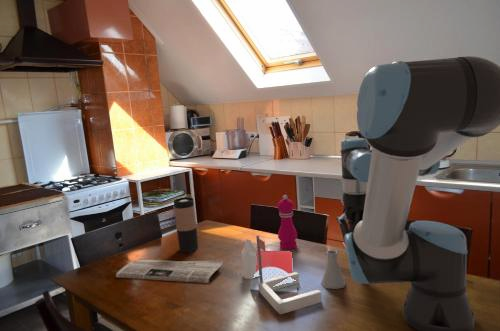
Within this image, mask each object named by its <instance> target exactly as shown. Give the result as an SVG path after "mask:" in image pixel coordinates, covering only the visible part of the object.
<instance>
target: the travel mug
mask: <svg viewBox="0 0 500 331" xmlns="http://www.w3.org/2000/svg"><path fill="white" fill-rule="evenodd" d="M173 206H174V216H175V226H176V232H177V240H178V247H179V251H180V252H182V253H192V252H195V251H197V250H198V249H199V246H198V245H199V242H198V230H197V229H198V228H197V227H198V226H197V221H196V220H197V219H196V211H195V202H194V198H193V197H190V196H188V197H179V198H176V199H174V200H173Z"/></svg>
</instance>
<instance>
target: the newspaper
mask: <svg viewBox="0 0 500 331" xmlns="http://www.w3.org/2000/svg"><path fill="white" fill-rule="evenodd" d="M224 262H225V261H224V259H215V260H213V259H212V260H209V259H208V260H183V261H179V260H177V261H176V260H164V259H149V258H139V259H137V260H133V261H130V262H129V263H127V264H126V265H124V266H123V267H122V268H120V269H119V270H118V271H117V272H116V274H115V278H121V279H137V280H138V279H139V280H152V281H170V282H183V283H185V282H187V283H200V284H201V283H203V284H209V283H210V279H211V277H212V275H213V274H215V272H216V271H220V269H221V266H222V265H223V263H224Z"/></svg>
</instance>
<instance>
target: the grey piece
mask: <svg viewBox="0 0 500 331" xmlns="http://www.w3.org/2000/svg"><path fill="white" fill-rule="evenodd" d="M257 251H258V250H257V246H255V244H254V243H253V242H252V240H251V239H246V240H245V241H244V246H243V249H242V251H241V253H240V259H241V268H242V275H243V278H244V279H245V280H254V279H253V277H254V274H255V272H256V265H257V256H256V252H257Z"/></svg>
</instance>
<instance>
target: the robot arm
mask: <svg viewBox="0 0 500 331" xmlns="http://www.w3.org/2000/svg"><path fill="white" fill-rule="evenodd" d="M356 107H357V110H356V122H357V128H358V131H359V133H360V134H361V136H362V137H353V138H344V139H343V140H342V141H341V142H340V155H341V158H340V159H341V180H342V181H341V182H342V191H343V192H342V204H343V210H342V214H341V215H340V216H336V219H335V220H336V221H337V223H338V224H339V227H340V228H339V229H340V232H341V234H342V240H343V242H344V245H345V252H346V257H347V261H348V263H347V264H348V268H349V272H350V276H351V278H352V280H353V281H354V282H355V283H356V284H367V285H375V284H376V285H377V284H392V283H393V284H394V283H410V286H409V288H408V291H407V293H406V294H407V295H406V297H405V300H404V302H403V306H402V310H403V311H402V315H403V319H404V320H405V322H406V323H407V324H408V325H409V326H410V327H411V328H413V329H415V330H416V331H474V330H475V322H476V321H475V320H476V318H475V314H474V312H473V310H472V308H471V305H470V301H469V298H468V295H467V266H468V265H467V264H468V263H467V262H468V261H467V260H468V252H469V251H468V246H467V237H466V235H465V234H464V232H463V231H462V230H461V229H460V228H458V227H455V226H453V225H450V224H446V223H443V222H438V221H433V220H431V221H430V220H415V221H412V222H411V223H410V224H409V227H408V229H407V230H405V228H406V225H407V224H406V223H407V220H408V215H409V213H410V207H411V204H412V200H413V196H414V192H415V188H416V184H417V180H418V177H419V176H420V177H425V176H429V175H430V176H431V175H434V174H437V173H438V172H439V168H440V167H441V160H442V159H444V158H446V156H448V155H449V154H451V153H452V152H454V151H455V150H457V149H458V148H459V147H460V146H462V145H464V144H465V143H466V142H468V141H470V139H472V138H473V139H474V138H480V137H484V136H486V135H487V134H490V133H491V132H492V131H493V130H496V128H497V129H498V127H499V126H500V65H498V64H497V63H495V62H493V61H491V60H489V59H486V58H484V57H481V56H480V57H479V56H470V55H469V56H457V57H450V58H449V57H448V58H437V59H428V60H415V61H414V60H413V61H402V60H399V61H398V60H397V61H393V62H392V63H386V64H378V65H375V66H373V67H372V68H370V69H369V70H368V71H367V73H365V76H364V77H363V79H362V81H361V84H360V87H359V90H358V96H357V102H356ZM370 148H371V149H370Z"/></svg>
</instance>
